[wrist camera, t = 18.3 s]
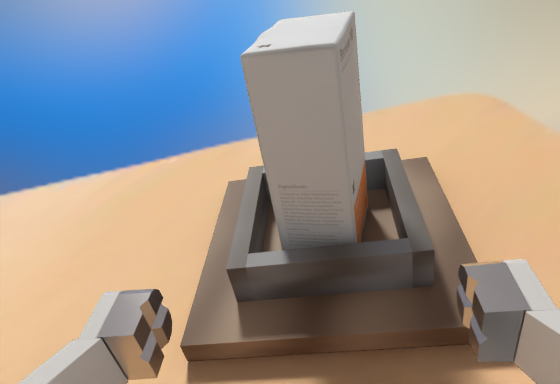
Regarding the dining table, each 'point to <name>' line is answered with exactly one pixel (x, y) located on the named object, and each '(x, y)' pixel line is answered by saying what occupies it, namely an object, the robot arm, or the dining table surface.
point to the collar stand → (332, 274)
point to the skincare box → (310, 128)
